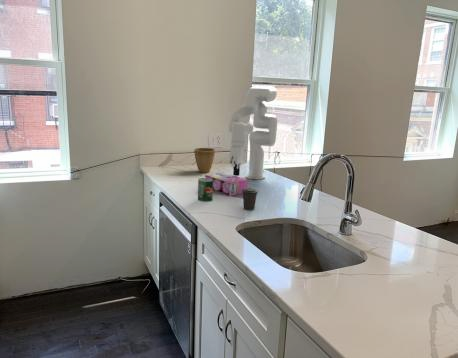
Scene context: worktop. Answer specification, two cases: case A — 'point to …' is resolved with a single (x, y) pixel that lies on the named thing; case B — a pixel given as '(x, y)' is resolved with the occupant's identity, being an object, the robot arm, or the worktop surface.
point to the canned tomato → (205, 189)
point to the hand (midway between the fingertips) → (236, 175)
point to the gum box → (228, 183)
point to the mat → (231, 195)
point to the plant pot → (204, 159)
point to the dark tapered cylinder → (249, 198)
